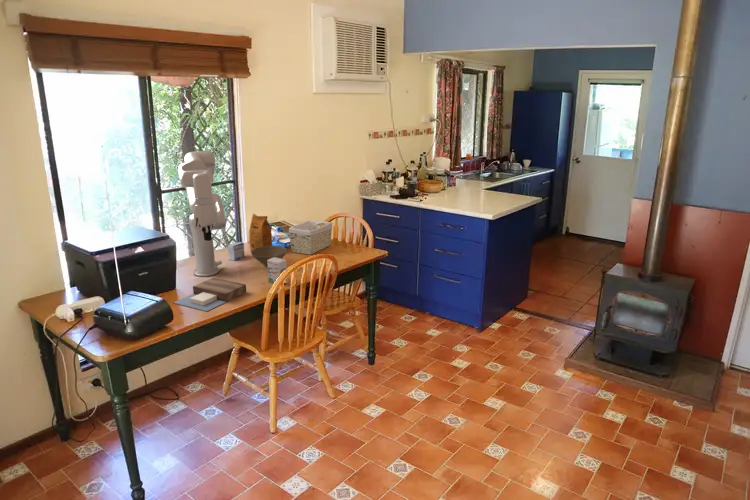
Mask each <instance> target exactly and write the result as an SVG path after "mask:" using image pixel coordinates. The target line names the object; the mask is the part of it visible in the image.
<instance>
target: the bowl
mask: <svg viewBox="0 0 750 500" xmlns="http://www.w3.org/2000/svg"><path fill="white" fill-rule="evenodd" d="M287 252H288V249H287V248H285V247H283V246H281V245H272V246H263V247H259V248H256V249H254V250H252V252H251V251H250V254H251V256H252V258H254V259H255V260H256V261H258V262H259V263H260V264H262V265H265V266H268V264H267V260H268V259H271V258H273V257H276V258H280V259H284V258H285V256H286V254H287Z"/></svg>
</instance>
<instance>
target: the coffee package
mask: <svg viewBox="0 0 750 500" xmlns="http://www.w3.org/2000/svg"><path fill="white" fill-rule="evenodd" d="M268 219H269V218H268V216H267V215H256V214H255V213H253V214H252V217H251V221H250V225H249V245H250V247H249V248H250V253H251V252H252V250H254V249H256V248H259V247H263V246H273V235H272V234H273V233H272V226H271V224H270V222H269V221H268Z"/></svg>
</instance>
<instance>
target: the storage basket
mask: <svg viewBox="0 0 750 500" xmlns="http://www.w3.org/2000/svg"><path fill="white" fill-rule="evenodd" d="M318 226H320V227H318ZM332 229H333V222H331V221H324V220H315V219H311V220H306V221H304V222H301V223H299V224H295V225H293V226H291V227H289V228H288V235H289V242H290V251H291V252H293V253H296V254H297V253H298V254H304V255H314V254H315V253H318V252H319V251H323V250H324V249H326V248H329V247H330V246H331V243H332V242H331V241H332V232H333V231H332Z"/></svg>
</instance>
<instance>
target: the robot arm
mask: <svg viewBox="0 0 750 500" xmlns="http://www.w3.org/2000/svg"><path fill="white" fill-rule="evenodd" d="M183 160H184V162H181V163H180V164H179V165H178V167H177V172H178V179H179V183H180V185H181V186H182V187H183V188H185V190H186V195H187V202H188V205H189V206H188V207H189V209H190V212H192V213H191V214H190V215H189V217H188V223H189V227H190V230H191V235H192V243H193V244H192V245H193V251H194V261H195V269H194V270H193V271H192V273H193V275H194V276H197V277H209V276H214V275H217V274H218V273H219V272H220V269H219V267H218V266H220V265H222V264H223V262H222V261H221V260H219V261H216V258H215V257H216V256H215V248H214V247H215V246H214V239H213V237H212V236H213V235H212V231H218V230H223V229H224V228H225V227H226V226H227V219H226V215H225V210H224V206H223V201H222V198H221V196H220V195H219V193H213V189H212V184H213V182H214V174H215V170H216V157H215V155H214V153H213V152H212V151H209V150H200V151H198V150H197V151H189V152H187V153H185V155H184V158H183Z"/></svg>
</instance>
